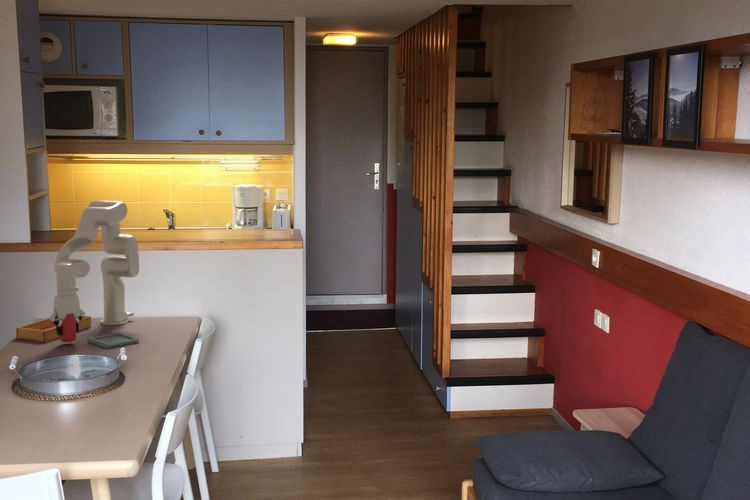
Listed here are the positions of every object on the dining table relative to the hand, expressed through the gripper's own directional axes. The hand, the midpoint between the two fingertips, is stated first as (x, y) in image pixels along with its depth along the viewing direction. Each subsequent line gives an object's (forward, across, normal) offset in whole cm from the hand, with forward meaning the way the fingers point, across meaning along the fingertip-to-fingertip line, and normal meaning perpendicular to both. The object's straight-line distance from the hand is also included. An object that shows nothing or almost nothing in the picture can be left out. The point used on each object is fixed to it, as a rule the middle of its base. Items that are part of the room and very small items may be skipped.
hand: (67, 333), depth 346 cm
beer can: (+3, 0, 0) cm, 3 cm away
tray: (+6, -6, -23) cm, 24 cm away
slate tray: (+5, -15, +10) cm, 19 cm away
